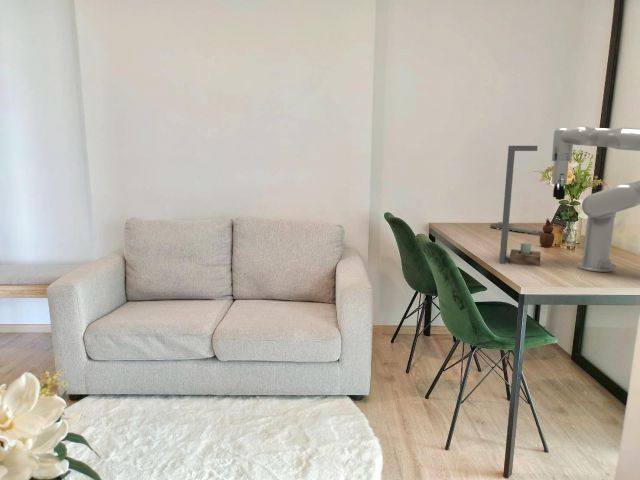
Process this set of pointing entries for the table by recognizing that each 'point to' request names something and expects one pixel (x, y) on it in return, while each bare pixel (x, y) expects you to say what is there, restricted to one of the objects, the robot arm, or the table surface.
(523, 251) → the peg
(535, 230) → the elongated rock
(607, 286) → the table surface
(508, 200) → the gallows post stand
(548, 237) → the wooden figurine
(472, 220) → the table surface
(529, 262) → the socket block
